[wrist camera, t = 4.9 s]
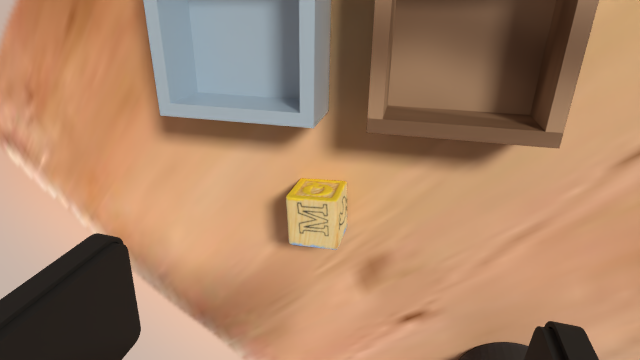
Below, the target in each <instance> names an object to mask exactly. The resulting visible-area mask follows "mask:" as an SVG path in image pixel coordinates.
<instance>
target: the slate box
mask: <svg viewBox="0 0 640 360" xmlns="http://www.w3.org/2000/svg"><path fill="white" fill-rule="evenodd" d="M143 1H144V8H145V15H146V22H147V29H148V36H149V42H150V49H151V56H152V63H153V70H154V76H155V83H156V90H157V97H158V104H159V110H160V116H172V117H185V118H197V119H209V120H221V121H233V122H245V123H257V124H269V125H281V126H293V127H305V128H314V127H315V126H316V125H317V124H318V123H319V121H320V120H321V119H322V118H323V117H324V116H325V115H326V113H327V112H328V111H329V74H330V33H331V0H143Z"/></svg>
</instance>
